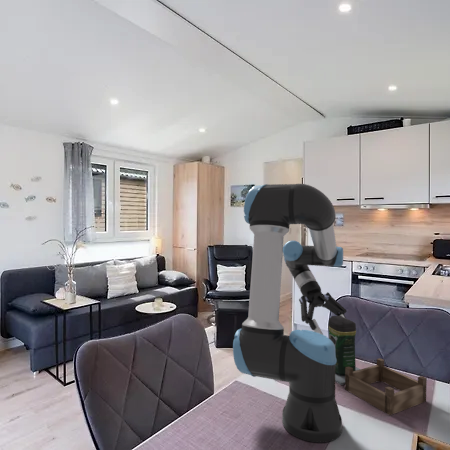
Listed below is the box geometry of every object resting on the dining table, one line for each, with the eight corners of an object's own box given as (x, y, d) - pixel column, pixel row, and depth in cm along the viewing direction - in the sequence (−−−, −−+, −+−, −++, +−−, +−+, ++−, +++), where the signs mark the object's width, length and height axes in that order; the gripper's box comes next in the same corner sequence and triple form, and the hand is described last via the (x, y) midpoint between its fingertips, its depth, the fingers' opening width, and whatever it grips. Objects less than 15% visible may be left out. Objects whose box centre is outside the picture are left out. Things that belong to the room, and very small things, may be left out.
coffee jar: (359, 375, 117) (360, 321, 117) (338, 377, 115) (339, 322, 115) (343, 363, 126) (344, 313, 126) (324, 365, 125) (324, 314, 124)
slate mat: (341, 385, 111) (341, 383, 111) (311, 368, 124) (311, 366, 124) (371, 376, 118) (371, 374, 118) (340, 361, 130) (340, 359, 130)
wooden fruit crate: (389, 415, 94) (390, 390, 94) (345, 389, 109) (345, 367, 108) (426, 401, 102) (426, 378, 101) (379, 378, 116) (380, 358, 116)
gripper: (327, 287, 145) (354, 334, 132) (278, 293, 133) (303, 345, 121) (336, 277, 140) (366, 324, 127) (286, 282, 129) (313, 334, 116)
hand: (335, 334), depth 124 cm, fingers open, 13 cm apart
